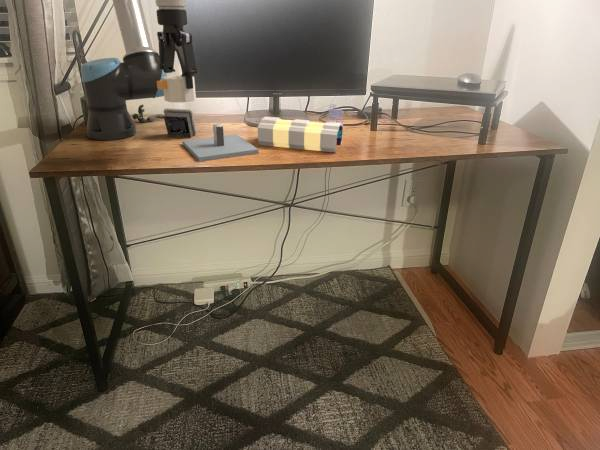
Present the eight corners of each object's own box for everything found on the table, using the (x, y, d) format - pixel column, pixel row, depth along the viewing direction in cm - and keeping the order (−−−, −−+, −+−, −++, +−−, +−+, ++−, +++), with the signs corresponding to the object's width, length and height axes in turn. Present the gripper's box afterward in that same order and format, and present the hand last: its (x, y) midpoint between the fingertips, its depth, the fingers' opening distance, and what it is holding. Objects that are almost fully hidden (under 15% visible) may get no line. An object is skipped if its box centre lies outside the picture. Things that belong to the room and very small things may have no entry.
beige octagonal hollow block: (153, 100, 123) (150, 77, 120) (185, 96, 129) (183, 74, 127) (168, 104, 118) (165, 81, 115) (200, 99, 124) (198, 77, 122)
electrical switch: (197, 135, 149) (193, 107, 144) (192, 140, 145) (188, 113, 140) (170, 133, 150) (165, 106, 145) (164, 139, 145) (159, 111, 140)
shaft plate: (182, 144, 139) (180, 121, 136) (236, 137, 147) (235, 115, 143) (199, 161, 125) (197, 136, 122) (258, 153, 133) (257, 129, 129)
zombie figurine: (173, 102, 163) (132, 107, 156) (175, 120, 167) (135, 126, 159) (167, 99, 167) (127, 104, 159) (170, 117, 170) (130, 123, 163)
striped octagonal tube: (342, 145, 143) (344, 103, 137) (336, 154, 134) (338, 111, 128) (268, 137, 149) (268, 98, 143) (258, 146, 140) (257, 104, 134)
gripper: (138, 8, 118) (150, 95, 128) (179, 8, 105) (189, 105, 115) (164, 8, 123) (173, 92, 133) (206, 8, 110) (213, 102, 120)
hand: (180, 98), depth 124 cm, fingers closed on beige octagonal hollow block, 8 cm apart
